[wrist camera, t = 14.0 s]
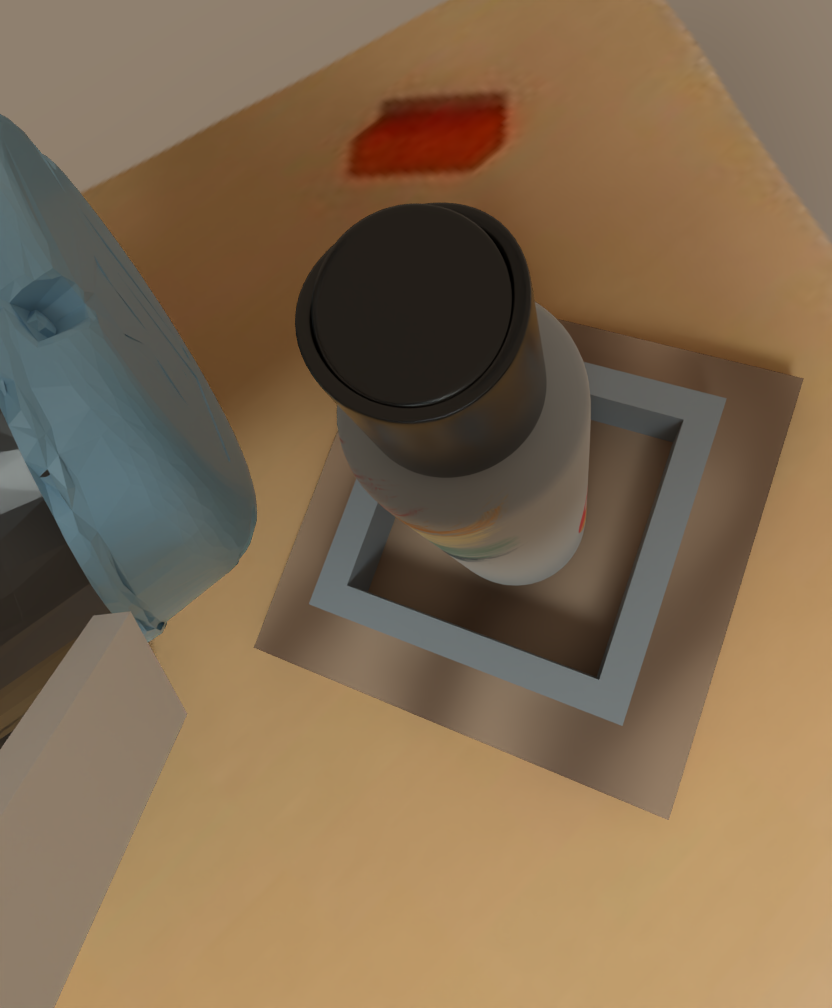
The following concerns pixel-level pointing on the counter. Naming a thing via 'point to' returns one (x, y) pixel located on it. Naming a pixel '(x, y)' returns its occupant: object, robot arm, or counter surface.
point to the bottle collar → (609, 694)
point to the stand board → (565, 590)
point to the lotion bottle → (453, 387)
